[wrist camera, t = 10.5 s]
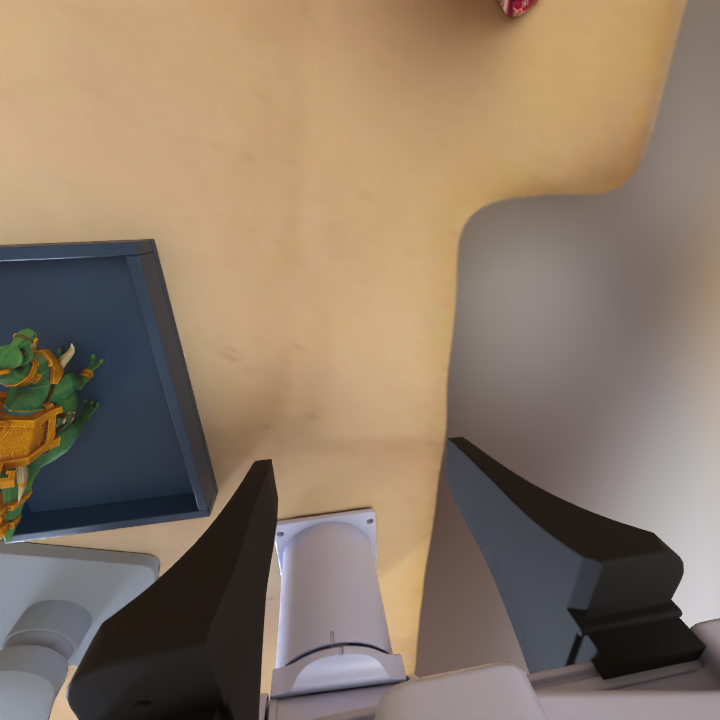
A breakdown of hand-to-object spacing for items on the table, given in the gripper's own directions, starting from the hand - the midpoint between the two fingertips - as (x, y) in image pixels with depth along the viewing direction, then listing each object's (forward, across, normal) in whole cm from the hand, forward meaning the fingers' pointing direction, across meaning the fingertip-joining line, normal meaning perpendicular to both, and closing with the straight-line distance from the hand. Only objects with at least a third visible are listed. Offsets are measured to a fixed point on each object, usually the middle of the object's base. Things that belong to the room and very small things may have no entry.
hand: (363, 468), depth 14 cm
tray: (+9, +16, 0) cm, 18 cm away
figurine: (+9, +16, 0) cm, 18 cm away
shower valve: (+10, +23, +19) cm, 31 cm away
